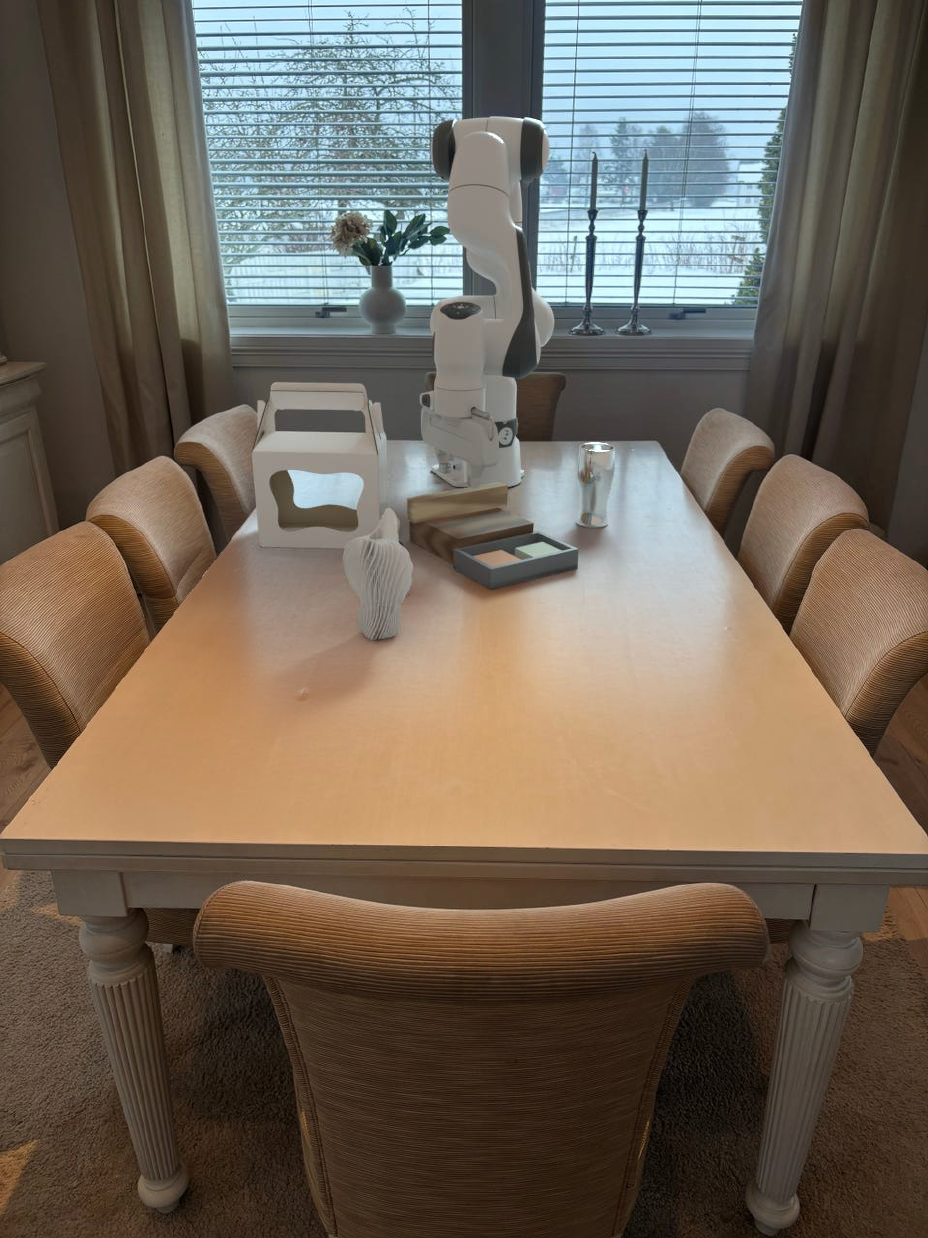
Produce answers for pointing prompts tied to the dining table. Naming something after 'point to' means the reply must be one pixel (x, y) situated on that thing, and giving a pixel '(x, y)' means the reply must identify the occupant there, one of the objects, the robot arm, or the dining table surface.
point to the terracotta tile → (497, 558)
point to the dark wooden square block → (467, 531)
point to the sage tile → (534, 550)
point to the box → (518, 569)
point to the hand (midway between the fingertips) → (458, 479)
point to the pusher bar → (456, 502)
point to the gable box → (317, 467)
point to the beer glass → (594, 483)
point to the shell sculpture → (379, 577)
